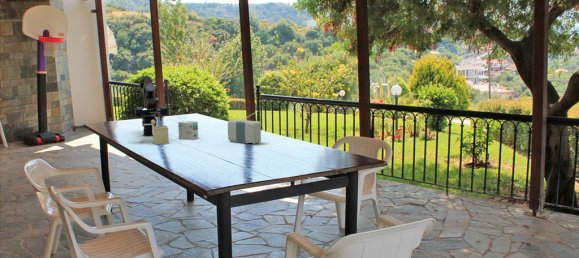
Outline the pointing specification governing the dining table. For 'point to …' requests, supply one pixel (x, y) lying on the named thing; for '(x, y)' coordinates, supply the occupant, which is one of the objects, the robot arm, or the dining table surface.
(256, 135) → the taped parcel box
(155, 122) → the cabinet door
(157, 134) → the kraft carton
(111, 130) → the dining table surface
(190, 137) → the light bulb box
